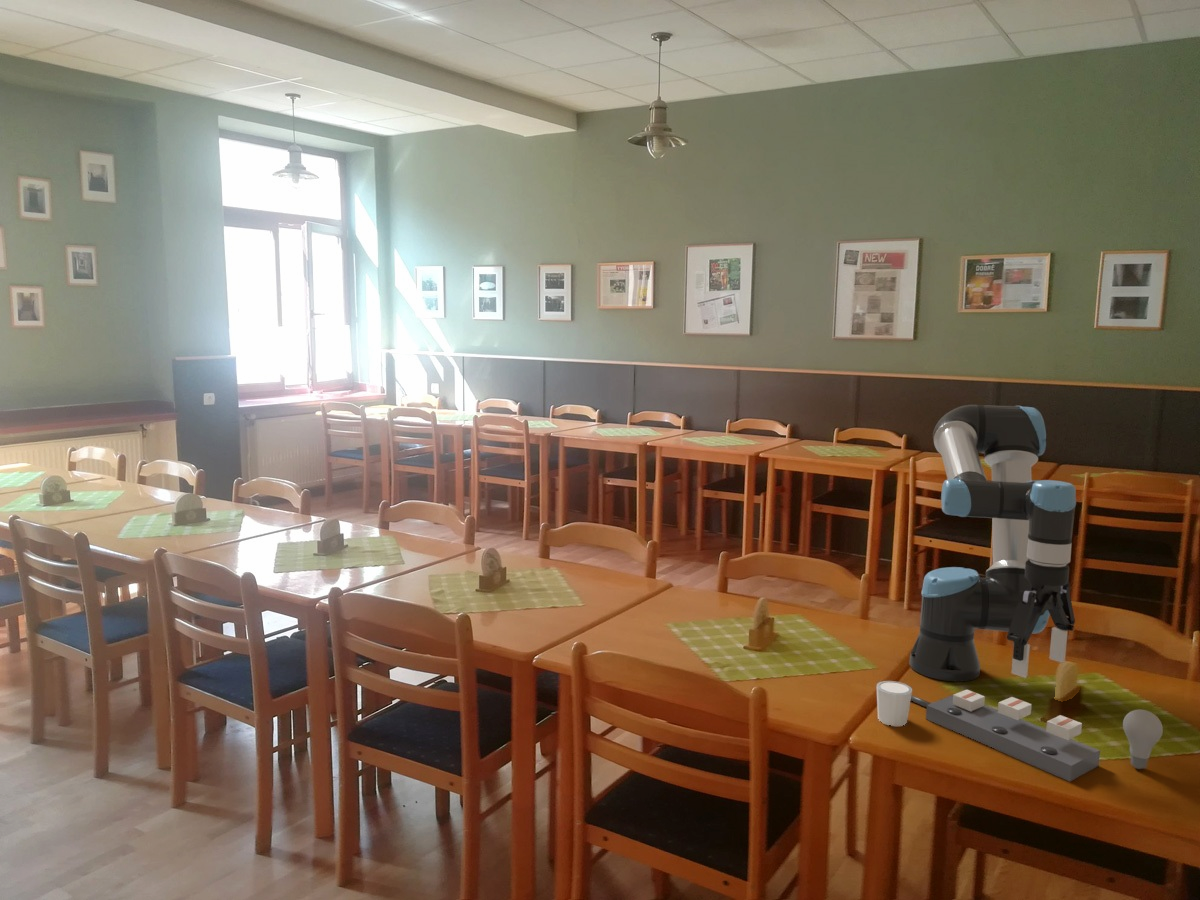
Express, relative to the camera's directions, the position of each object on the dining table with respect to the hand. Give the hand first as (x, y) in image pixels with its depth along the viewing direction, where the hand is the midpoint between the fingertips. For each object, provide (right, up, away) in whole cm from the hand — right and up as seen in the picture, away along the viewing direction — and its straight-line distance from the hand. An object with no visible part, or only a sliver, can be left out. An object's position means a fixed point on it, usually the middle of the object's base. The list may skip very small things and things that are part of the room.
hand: (1038, 668), depth 171 cm
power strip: (-10, -13, +1) cm, 16 cm away
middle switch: (-6, -8, -3) cm, 11 cm away
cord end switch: (-11, -9, +5) cm, 16 cm away
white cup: (-27, -12, +6) cm, 30 cm away
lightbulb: (+12, -15, -12) cm, 23 cm away
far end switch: (-1, -10, -10) cm, 14 cm away
